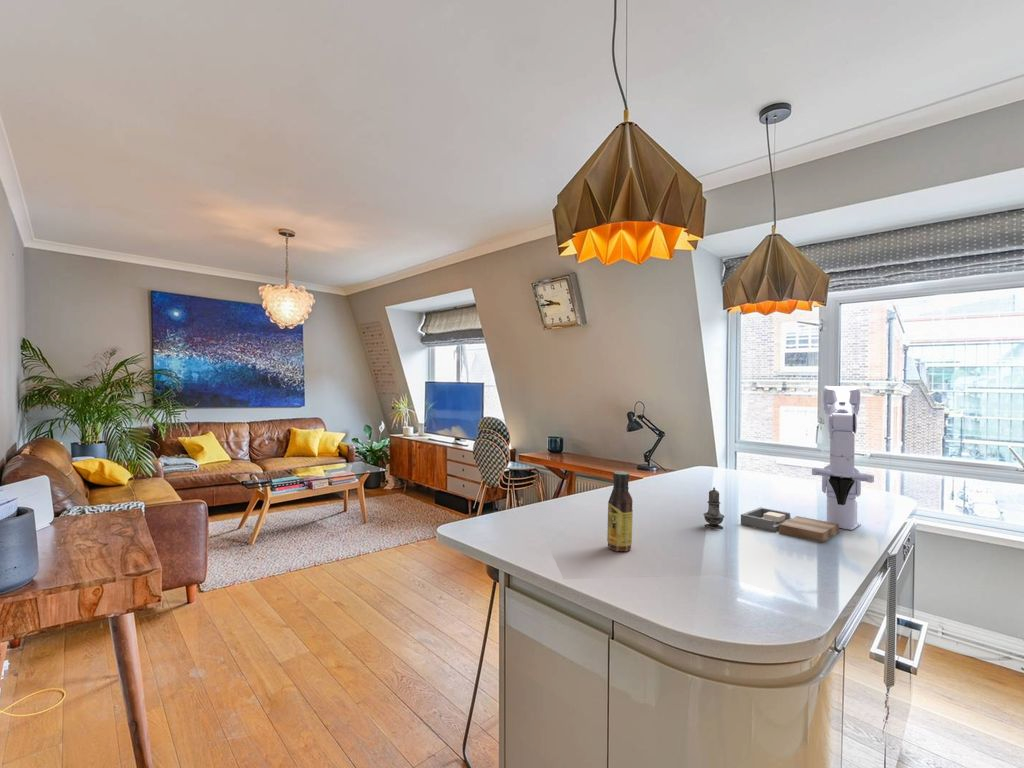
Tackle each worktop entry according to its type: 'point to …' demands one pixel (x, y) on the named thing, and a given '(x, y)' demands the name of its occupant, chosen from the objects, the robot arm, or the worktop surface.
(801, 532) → the walnut board
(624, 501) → the sauce bottle
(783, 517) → the cream tile
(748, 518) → the tray
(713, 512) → the salt shaker
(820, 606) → the worktop surface
